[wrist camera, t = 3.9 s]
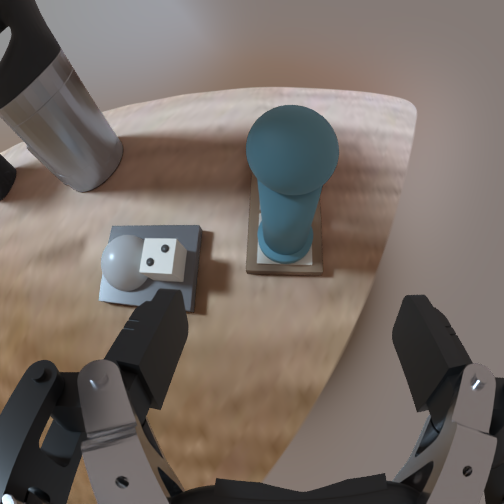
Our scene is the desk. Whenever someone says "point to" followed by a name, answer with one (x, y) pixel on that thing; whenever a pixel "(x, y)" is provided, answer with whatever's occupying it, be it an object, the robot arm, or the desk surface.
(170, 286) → the die tray
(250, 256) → the track board
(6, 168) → the travel mug
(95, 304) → the desk surface
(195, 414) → the desk surface
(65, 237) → the desk surface
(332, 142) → the pawn
